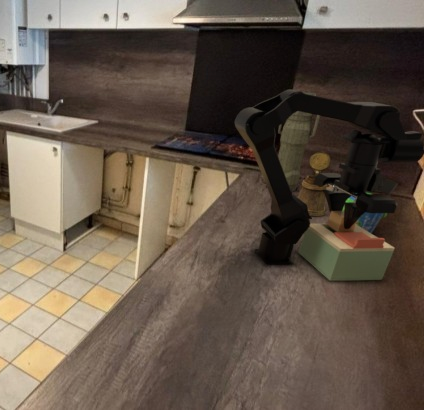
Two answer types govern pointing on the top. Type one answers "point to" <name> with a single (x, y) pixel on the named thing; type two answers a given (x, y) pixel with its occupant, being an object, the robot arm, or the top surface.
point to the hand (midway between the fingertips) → (340, 224)
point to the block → (338, 222)
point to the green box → (343, 260)
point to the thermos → (295, 143)
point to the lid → (340, 244)
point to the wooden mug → (312, 192)
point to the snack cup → (368, 218)
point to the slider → (360, 240)
